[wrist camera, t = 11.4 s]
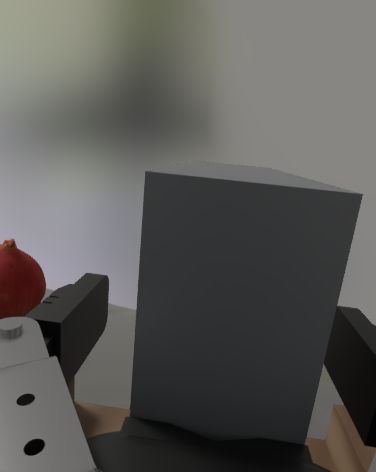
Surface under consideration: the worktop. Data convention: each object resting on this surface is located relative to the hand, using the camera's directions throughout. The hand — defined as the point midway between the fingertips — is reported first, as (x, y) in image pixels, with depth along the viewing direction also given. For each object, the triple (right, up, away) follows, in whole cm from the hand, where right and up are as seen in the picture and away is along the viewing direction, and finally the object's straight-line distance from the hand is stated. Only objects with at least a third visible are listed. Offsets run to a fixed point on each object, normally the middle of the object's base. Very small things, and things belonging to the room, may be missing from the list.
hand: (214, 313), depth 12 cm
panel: (-1, -10, +1) cm, 10 cm away
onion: (-17, -5, +17) cm, 25 cm away
